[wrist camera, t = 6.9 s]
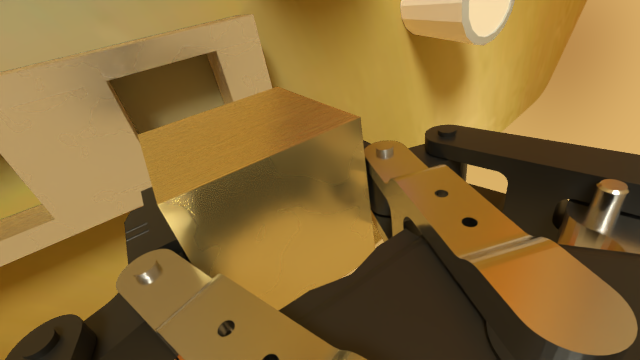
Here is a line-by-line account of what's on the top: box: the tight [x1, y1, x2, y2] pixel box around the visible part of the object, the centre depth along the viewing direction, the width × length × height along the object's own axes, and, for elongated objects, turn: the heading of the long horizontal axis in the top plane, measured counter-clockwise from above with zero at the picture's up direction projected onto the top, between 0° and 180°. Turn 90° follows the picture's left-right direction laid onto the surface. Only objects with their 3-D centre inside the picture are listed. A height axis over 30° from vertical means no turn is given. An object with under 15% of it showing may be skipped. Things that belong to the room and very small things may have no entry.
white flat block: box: [0, 14, 272, 267], centre depth 18 cm, size 24×9×3 cm, turn 103°
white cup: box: [401, 0, 515, 45], centre depth 27 cm, size 7×7×7 cm
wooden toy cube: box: [138, 87, 375, 311], centre depth 10 cm, size 5×5×5 cm
